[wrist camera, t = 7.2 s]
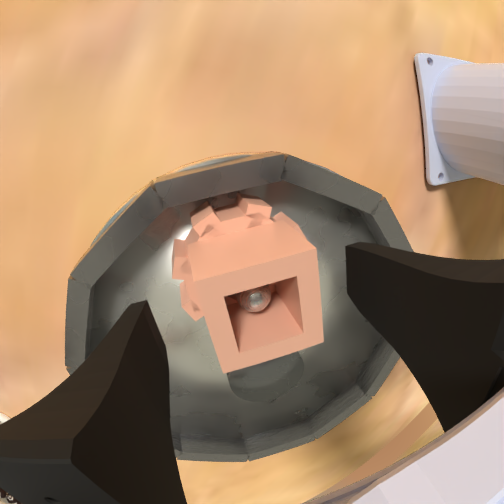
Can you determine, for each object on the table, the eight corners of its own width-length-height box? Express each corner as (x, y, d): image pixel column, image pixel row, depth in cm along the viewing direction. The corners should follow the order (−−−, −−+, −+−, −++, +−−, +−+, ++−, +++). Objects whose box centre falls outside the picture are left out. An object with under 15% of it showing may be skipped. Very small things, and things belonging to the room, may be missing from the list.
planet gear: (284, 182, 13) (341, 211, 9) (299, 290, 16) (346, 351, 11) (158, 212, 12) (151, 260, 8) (191, 320, 15) (204, 397, 10)
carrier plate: (388, 129, 15) (461, 138, 10) (382, 381, 22) (416, 424, 18) (22, 215, 12) (-34, 256, 7) (152, 452, 20) (156, 508, 15)
